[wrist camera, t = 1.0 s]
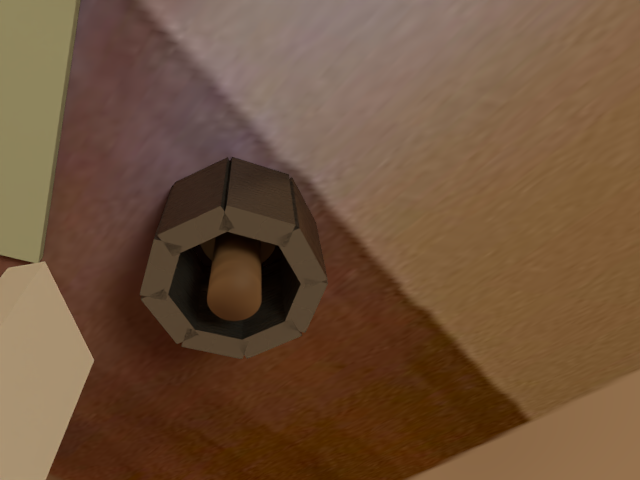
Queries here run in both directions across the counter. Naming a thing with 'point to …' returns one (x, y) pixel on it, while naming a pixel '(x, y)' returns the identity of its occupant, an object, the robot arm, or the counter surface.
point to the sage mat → (31, 116)
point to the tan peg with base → (235, 274)
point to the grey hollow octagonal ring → (247, 220)
